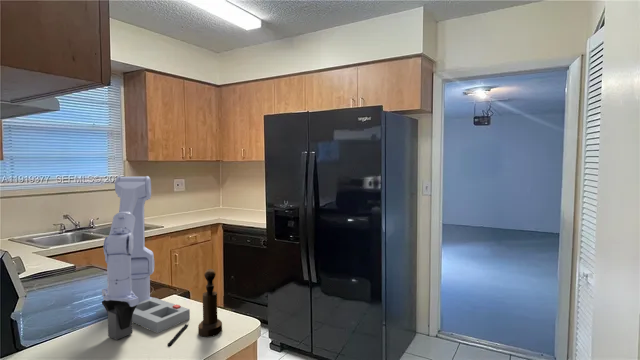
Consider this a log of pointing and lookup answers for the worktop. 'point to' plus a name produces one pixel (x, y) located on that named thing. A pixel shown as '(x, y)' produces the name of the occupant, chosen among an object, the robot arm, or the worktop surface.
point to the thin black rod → (177, 335)
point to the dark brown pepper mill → (210, 309)
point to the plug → (117, 326)
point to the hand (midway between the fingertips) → (120, 326)
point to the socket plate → (159, 314)
